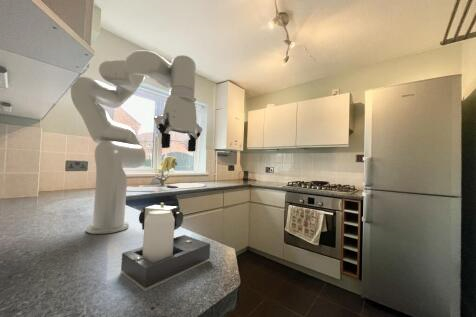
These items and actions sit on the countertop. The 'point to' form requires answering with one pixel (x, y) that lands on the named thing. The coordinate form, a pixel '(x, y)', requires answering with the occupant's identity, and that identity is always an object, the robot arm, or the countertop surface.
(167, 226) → the beverage can
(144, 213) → the pneumatic valve
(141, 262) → the grey pocketed holder block
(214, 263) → the countertop surface
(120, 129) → the robot arm
